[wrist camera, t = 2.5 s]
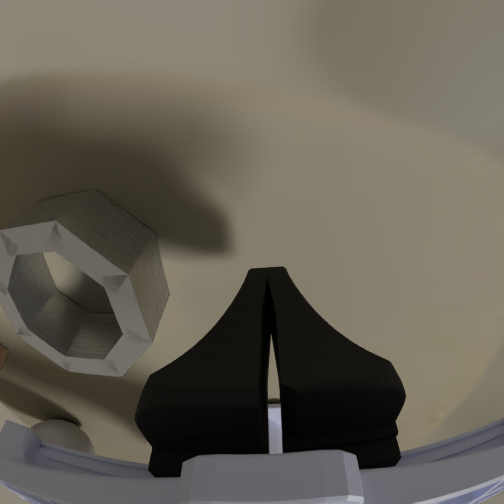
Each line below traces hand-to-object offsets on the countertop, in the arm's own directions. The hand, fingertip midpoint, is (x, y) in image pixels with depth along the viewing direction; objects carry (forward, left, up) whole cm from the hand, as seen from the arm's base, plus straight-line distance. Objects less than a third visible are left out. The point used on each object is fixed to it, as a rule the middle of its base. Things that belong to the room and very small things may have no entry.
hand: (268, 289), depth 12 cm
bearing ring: (0, +9, -3) cm, 9 cm away
